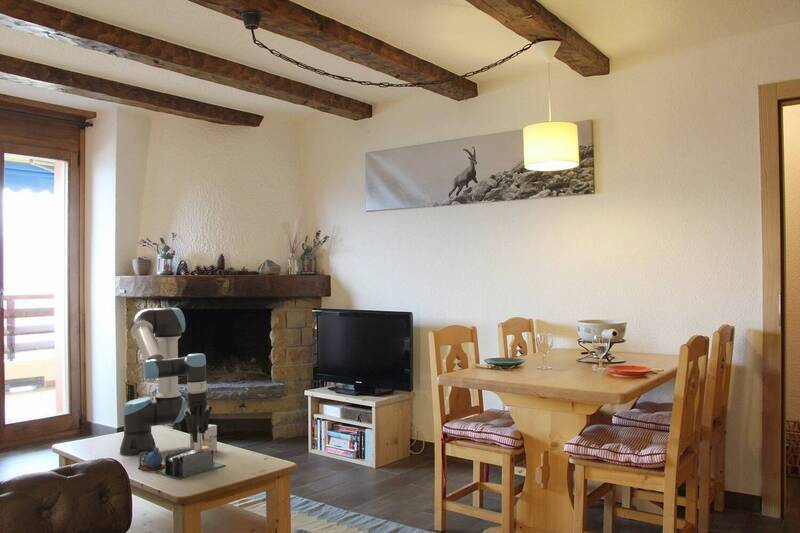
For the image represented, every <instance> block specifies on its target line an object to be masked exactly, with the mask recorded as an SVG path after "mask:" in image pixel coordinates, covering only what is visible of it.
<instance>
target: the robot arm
mask: <svg viewBox="0 0 800 533" xmlns="http://www.w3.org/2000/svg"><path fill="white" fill-rule="evenodd" d="M185 330H186V319H185V315H184V313H183V311H182V310H181V309H180V308H179V307H159V308H144V309H142V310H139V311H138V312H136V313H135V315H133V317H132V319H131V320H130V323H129V333H130V335H131V337H133V339H135V340H136V343H137V346H138V348H139V350H140V353H141V355H142V358H143V363H142V366H141V369H142V370H141V371H142V375H143V377H144V379H146V380H148V379H149V380H150V379H151V380H152V379H153V380H156V379H158V392H157V393H156V394H155V396H154V398H155V399H153V400H152V398H151V397H140V398H136V399H135V398H134V399H132V400H129V401H127V402H125V403H124V406H123V413H122V414H123V436H122V440H121V444H120V447H119V454H121V455H124V456H139V453H142V452H147V451H148V454H149V453H150V452H154V448H156V446H157V445H156V441H155V439H154V436H153V434H152V427H154V426H161V425H170V424H171V425H173V424H176V423H180V422H181V421H183V420H185V425H186V428H187V433H188V434H189V435H190V434H192V435H193V442H194V449H195V450H198V451H199V450H203V443H202V441H203V440H204V433H205V431H207V430H208V425H209V424H210V418H211V416H210V415H211V412H212V409H213V406H210V405H208V403H207V399H208V398H207V397H208V395H207V394H208V392H207V360H206V354H204V353H201V352H200V353H198V352H197V353H190V354H187V355H186V356H182V357H179V348H178V345H179V343H178V342H179V339H180V338H181V337H182V333H184V332H185ZM181 376H183V377H184V376H186V377H187V378H186V382H187V383H186V385H187V386H186V388H187V389H186V390H187V392H188V393H187V403H186V398H185V397H184V396H182V393H181V392H180V391H179V377H181ZM187 404H188V405H187ZM186 407H187V408H186ZM198 432H199V433H198Z"/></svg>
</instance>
